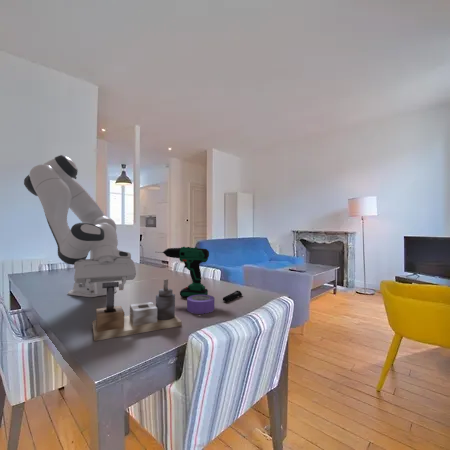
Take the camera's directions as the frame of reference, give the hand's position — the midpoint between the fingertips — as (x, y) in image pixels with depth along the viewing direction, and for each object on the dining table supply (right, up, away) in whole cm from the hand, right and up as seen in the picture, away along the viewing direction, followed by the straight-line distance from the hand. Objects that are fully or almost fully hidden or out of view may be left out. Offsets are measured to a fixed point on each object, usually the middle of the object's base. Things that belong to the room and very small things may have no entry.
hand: (106, 290), depth 91 cm
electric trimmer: (+45, -14, +38) cm, 61 cm away
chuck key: (+2, -9, -2) cm, 10 cm away
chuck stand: (+10, -13, +2) cm, 16 cm away
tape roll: (+31, -14, +22) cm, 40 cm away
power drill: (+18, -13, +41) cm, 47 cm away
